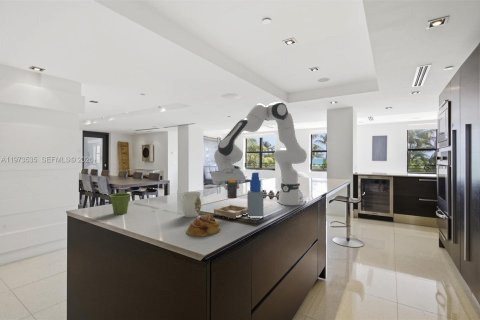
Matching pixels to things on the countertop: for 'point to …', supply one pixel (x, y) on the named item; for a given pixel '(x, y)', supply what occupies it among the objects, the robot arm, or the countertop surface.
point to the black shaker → (232, 190)
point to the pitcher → (191, 204)
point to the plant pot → (120, 202)
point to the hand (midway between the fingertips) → (232, 188)
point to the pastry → (203, 226)
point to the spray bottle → (255, 196)
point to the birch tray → (231, 210)
